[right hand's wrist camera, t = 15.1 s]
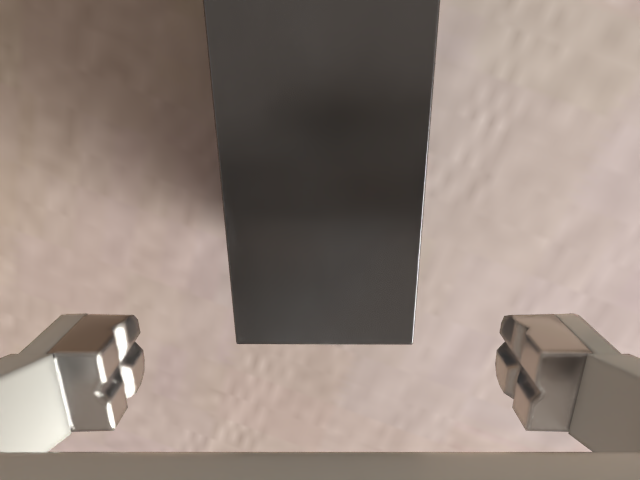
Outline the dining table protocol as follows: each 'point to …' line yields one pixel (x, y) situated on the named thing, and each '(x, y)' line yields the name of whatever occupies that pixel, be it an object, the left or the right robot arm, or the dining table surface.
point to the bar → (323, 163)
